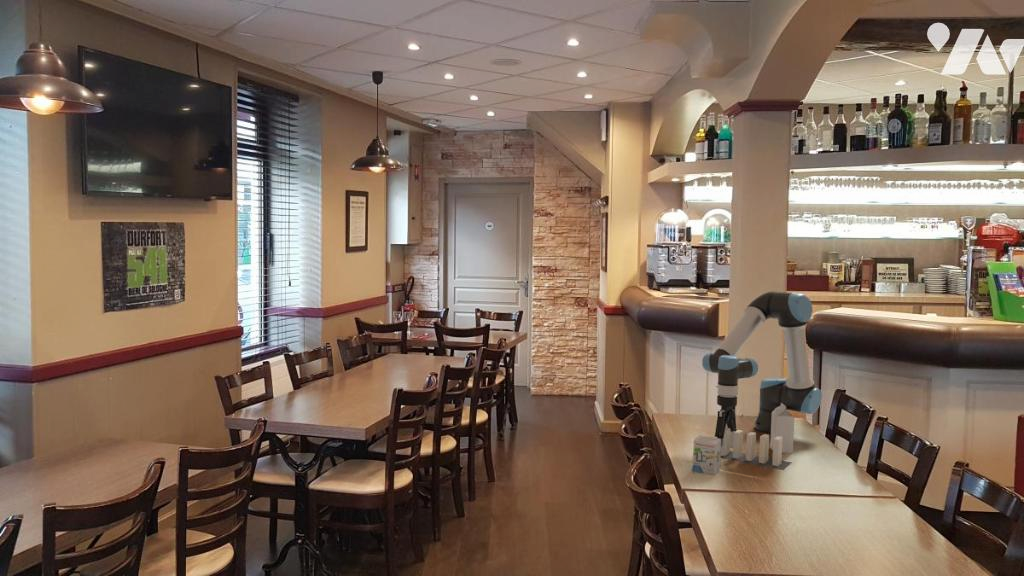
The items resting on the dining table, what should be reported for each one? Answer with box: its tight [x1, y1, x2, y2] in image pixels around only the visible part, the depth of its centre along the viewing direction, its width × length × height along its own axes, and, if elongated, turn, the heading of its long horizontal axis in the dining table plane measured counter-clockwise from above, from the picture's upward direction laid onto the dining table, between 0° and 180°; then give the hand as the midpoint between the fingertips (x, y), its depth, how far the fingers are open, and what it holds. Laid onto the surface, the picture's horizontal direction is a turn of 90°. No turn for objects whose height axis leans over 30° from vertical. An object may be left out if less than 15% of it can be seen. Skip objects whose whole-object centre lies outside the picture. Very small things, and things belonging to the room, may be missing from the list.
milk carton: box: [769, 403, 795, 454], centre depth 293 cm, size 7×7×19 cm
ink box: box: [691, 435, 721, 476], centre depth 266 cm, size 8×8×12 cm
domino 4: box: [772, 436, 783, 466], centre depth 274 cm, size 5×2×10 cm, turn 144°
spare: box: [721, 427, 731, 456], centre depth 286 cm, size 5×2×10 cm, turn 145°
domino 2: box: [745, 431, 757, 461], centre depth 280 cm, size 5×2×10 cm, turn 145°
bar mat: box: [720, 450, 793, 471], centre depth 280 cm, size 12×28×1 cm, turn 55°
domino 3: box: [758, 433, 770, 463], centre depth 277 cm, size 5×2×10 cm, turn 145°
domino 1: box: [732, 429, 744, 459], centre depth 283 cm, size 5×2×10 cm, turn 145°
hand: (725, 450), depth 286 cm, fingers open, 10 cm apart
